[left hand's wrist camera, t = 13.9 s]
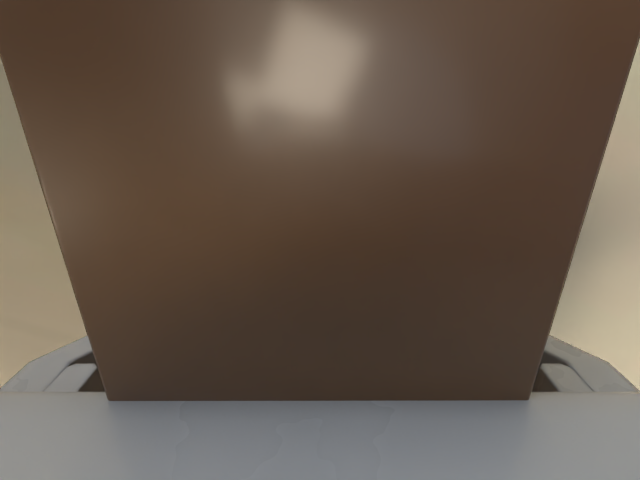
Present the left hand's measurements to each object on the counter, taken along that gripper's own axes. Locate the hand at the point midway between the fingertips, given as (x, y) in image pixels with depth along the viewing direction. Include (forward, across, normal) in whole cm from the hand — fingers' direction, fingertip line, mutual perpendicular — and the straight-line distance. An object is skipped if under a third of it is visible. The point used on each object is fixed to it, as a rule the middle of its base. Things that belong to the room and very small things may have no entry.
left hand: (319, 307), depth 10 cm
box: (+4, 0, +10) cm, 11 cm away
